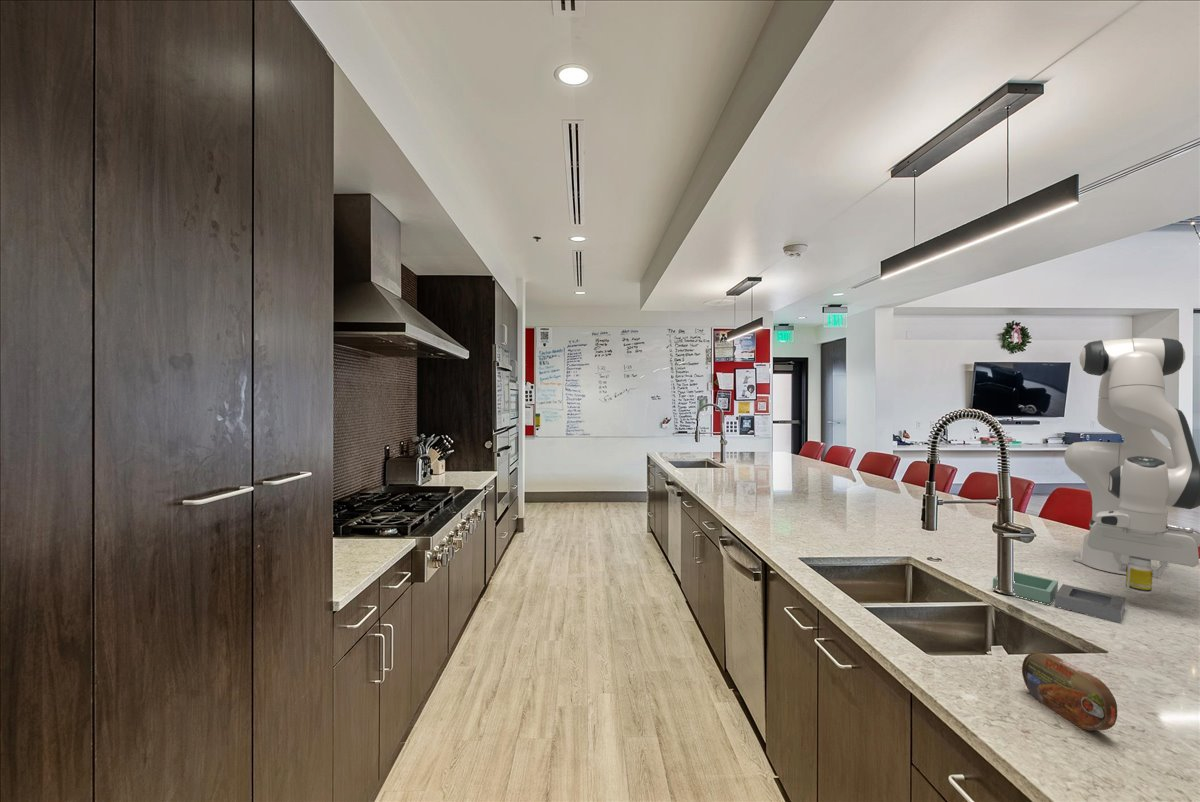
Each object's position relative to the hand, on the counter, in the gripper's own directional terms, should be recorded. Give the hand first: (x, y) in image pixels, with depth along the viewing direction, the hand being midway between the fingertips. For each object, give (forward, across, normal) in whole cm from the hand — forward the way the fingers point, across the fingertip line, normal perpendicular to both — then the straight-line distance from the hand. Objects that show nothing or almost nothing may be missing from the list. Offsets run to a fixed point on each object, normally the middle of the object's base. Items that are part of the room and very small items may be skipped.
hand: (1139, 574), depth 139 cm
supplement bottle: (+4, 0, 0) cm, 4 cm away
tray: (+8, +21, +13) cm, 26 cm away
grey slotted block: (+8, +8, +13) cm, 17 cm away
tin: (+6, +5, +76) cm, 76 cm away
